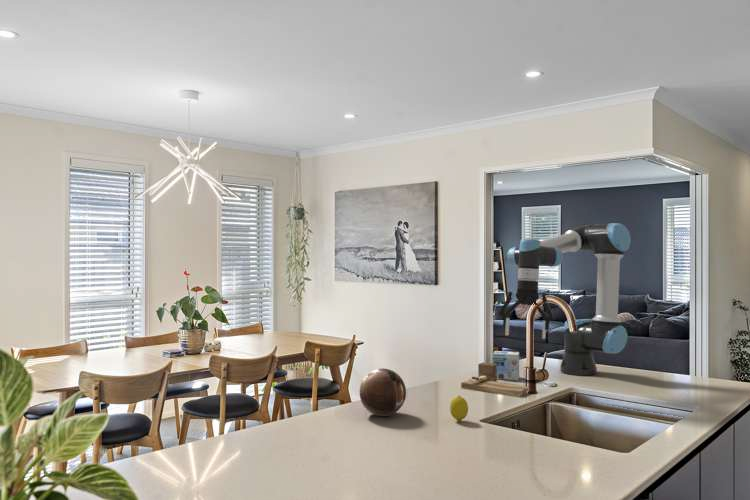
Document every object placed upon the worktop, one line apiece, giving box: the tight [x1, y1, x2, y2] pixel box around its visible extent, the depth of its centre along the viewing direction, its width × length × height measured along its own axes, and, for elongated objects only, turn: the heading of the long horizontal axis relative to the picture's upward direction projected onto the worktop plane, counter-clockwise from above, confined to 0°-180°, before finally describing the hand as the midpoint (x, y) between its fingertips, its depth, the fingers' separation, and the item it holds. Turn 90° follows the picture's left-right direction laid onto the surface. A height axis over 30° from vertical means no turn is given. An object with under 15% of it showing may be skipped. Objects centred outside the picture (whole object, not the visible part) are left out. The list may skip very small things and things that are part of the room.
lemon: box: [449, 395, 469, 422], centre depth 183 cm, size 6×6×8 cm
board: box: [460, 378, 528, 398], centre depth 225 cm, size 10×24×2 cm, turn 52°
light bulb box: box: [492, 350, 520, 381], centre depth 246 cm, size 11×7×11 cm, turn 73°
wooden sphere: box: [359, 368, 407, 417], centre depth 191 cm, size 15×15×15 cm
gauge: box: [471, 362, 498, 384], centre depth 231 cm, size 14×6×8 cm, turn 142°
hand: (525, 337), depth 220 cm, fingers open, 13 cm apart
